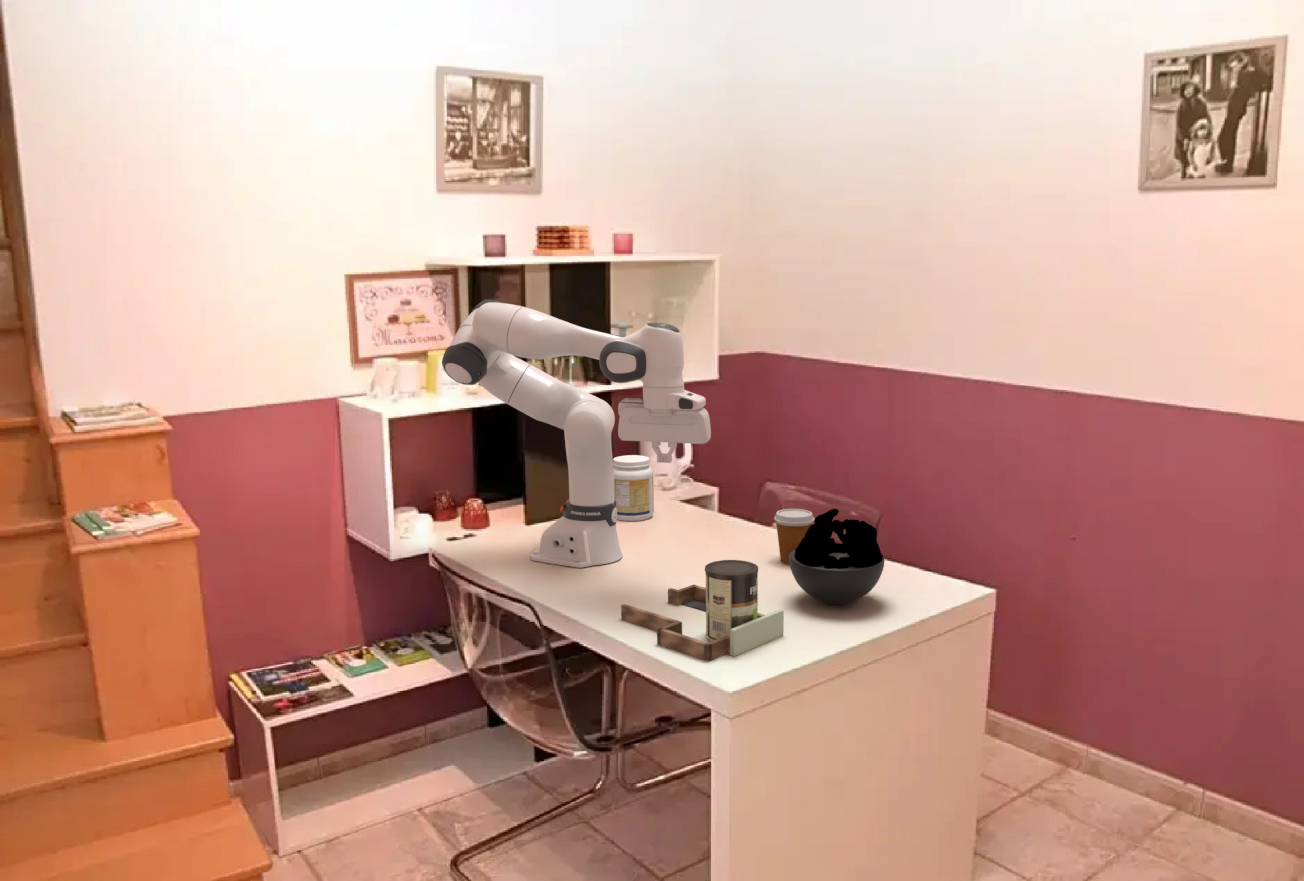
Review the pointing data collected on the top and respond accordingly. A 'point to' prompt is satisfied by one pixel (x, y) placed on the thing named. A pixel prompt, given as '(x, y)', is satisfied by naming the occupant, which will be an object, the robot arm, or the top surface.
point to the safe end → (756, 632)
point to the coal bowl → (837, 560)
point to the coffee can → (730, 596)
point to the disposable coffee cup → (791, 529)
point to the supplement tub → (633, 487)
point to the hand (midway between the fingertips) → (664, 462)
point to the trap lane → (679, 625)
